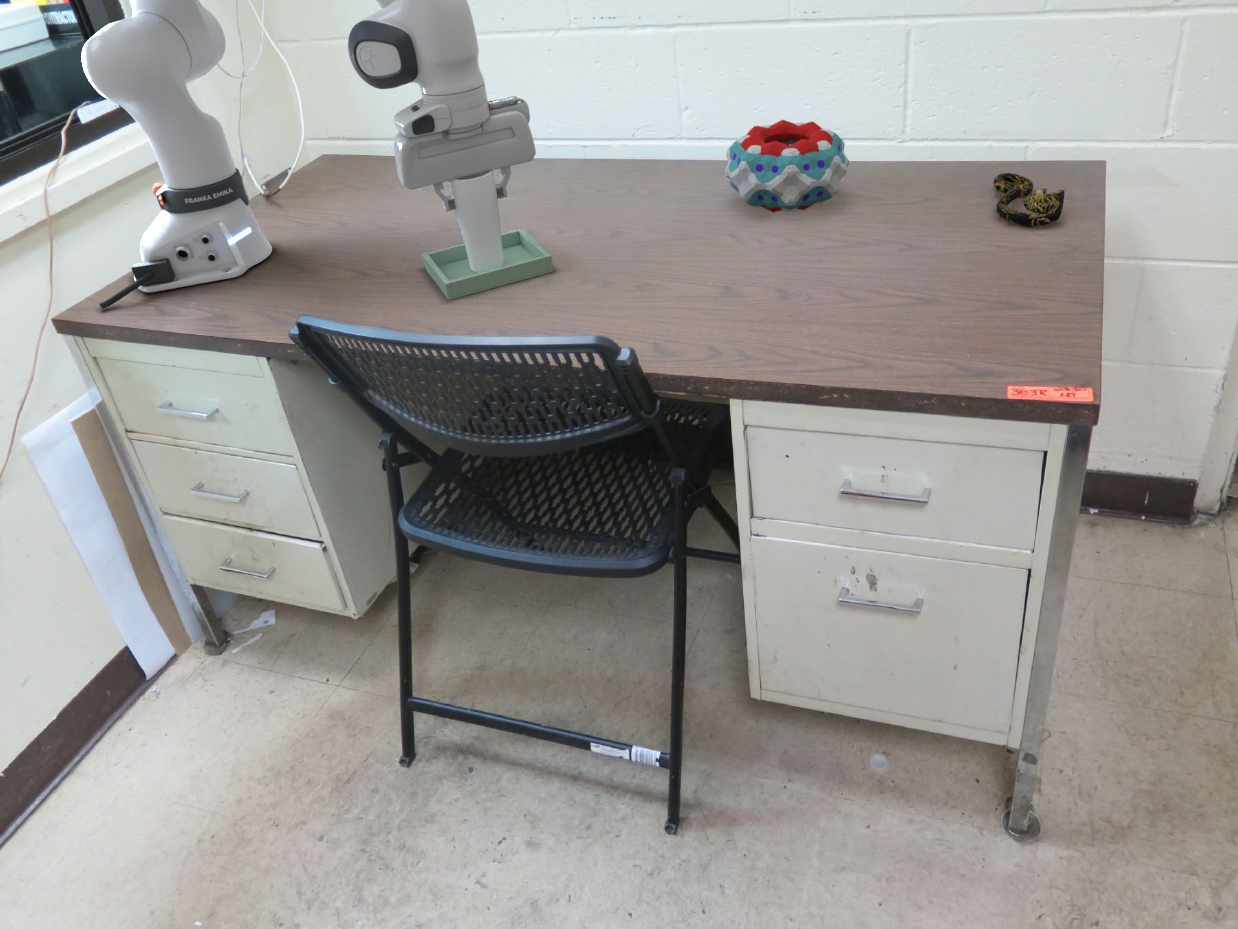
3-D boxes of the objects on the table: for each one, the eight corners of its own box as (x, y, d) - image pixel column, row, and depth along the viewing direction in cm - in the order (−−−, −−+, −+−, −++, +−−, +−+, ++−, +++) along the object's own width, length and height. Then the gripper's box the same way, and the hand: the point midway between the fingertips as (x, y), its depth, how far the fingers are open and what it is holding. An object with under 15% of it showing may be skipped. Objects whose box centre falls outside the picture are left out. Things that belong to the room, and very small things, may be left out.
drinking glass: (477, 257, 156) (459, 164, 147) (516, 259, 153) (500, 164, 145) (458, 276, 150) (438, 179, 142) (498, 278, 148) (480, 180, 140)
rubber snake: (999, 153, 156) (1066, 159, 154) (993, 181, 159) (1059, 187, 156) (991, 198, 143) (1065, 205, 140) (985, 228, 146) (1057, 235, 143)
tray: (448, 300, 145) (445, 283, 143) (425, 269, 155) (421, 253, 154) (553, 271, 149) (551, 255, 148) (524, 243, 160) (521, 228, 158)
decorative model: (810, 80, 163) (845, 109, 146) (839, 157, 170) (876, 194, 154) (705, 136, 166) (728, 171, 149) (738, 210, 174) (763, 251, 157)
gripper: (519, 88, 144) (533, 181, 151) (382, 118, 138) (404, 213, 146) (533, 97, 139) (547, 193, 147) (392, 128, 133) (415, 226, 141)
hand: (475, 203), depth 146 cm, fingers closed on drinking glass, 7 cm apart
